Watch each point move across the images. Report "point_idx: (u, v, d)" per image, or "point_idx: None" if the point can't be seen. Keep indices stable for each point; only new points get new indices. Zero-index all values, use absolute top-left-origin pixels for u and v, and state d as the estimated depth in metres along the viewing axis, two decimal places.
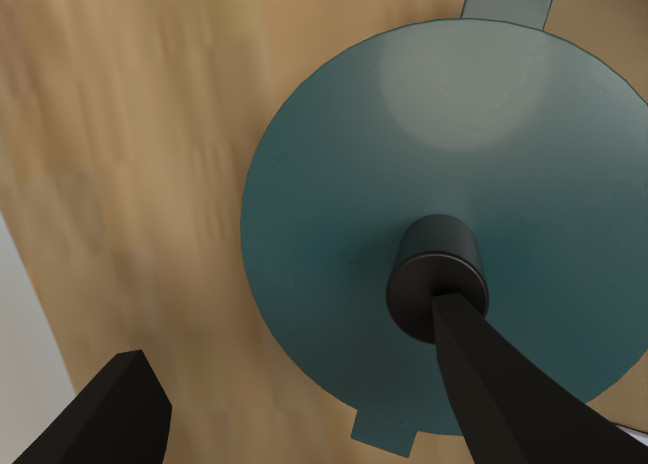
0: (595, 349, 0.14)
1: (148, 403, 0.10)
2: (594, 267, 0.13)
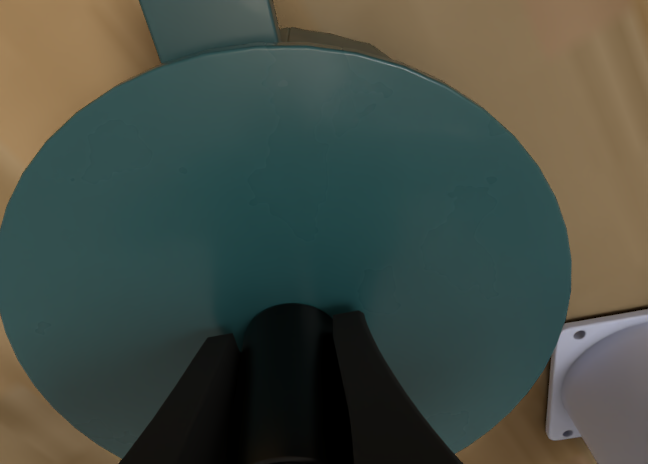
0: (509, 354, 0.12)
1: None
2: (471, 283, 0.11)
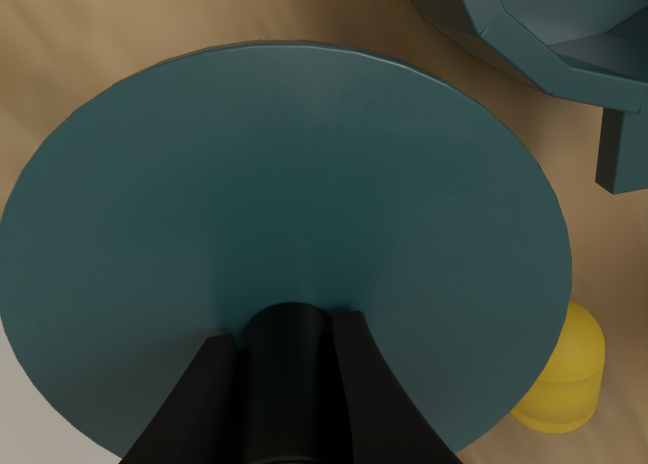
0: (509, 353, 0.12)
1: None
2: (471, 282, 0.11)
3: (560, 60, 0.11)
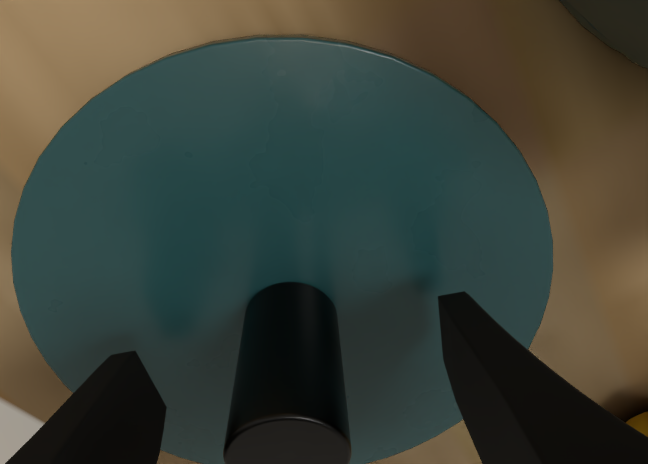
0: None
1: (142, 404, 0.10)
2: (458, 263, 0.11)
3: None
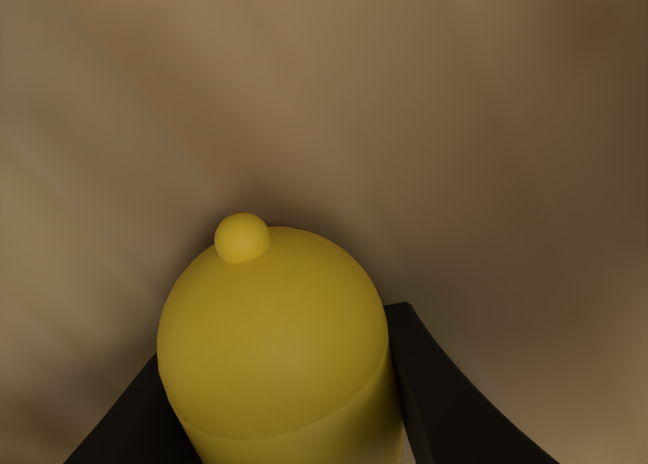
0: None
1: None
2: None
3: None
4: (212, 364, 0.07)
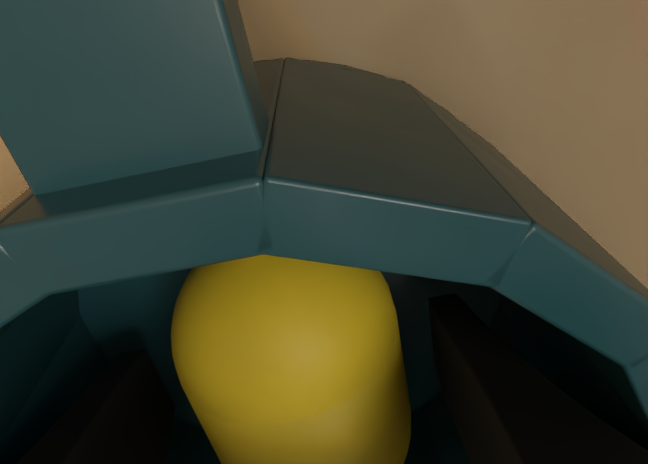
0: None
1: (151, 402, 0.10)
2: None
3: None
4: (239, 352, 0.07)
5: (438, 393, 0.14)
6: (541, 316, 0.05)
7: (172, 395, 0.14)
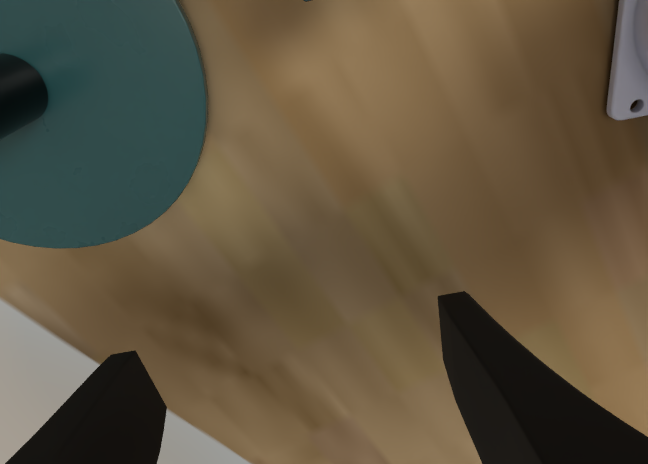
0: (174, 106, 0.17)
1: (142, 404, 0.10)
2: (122, 40, 0.16)
3: None
4: None
5: None
6: None
7: None
